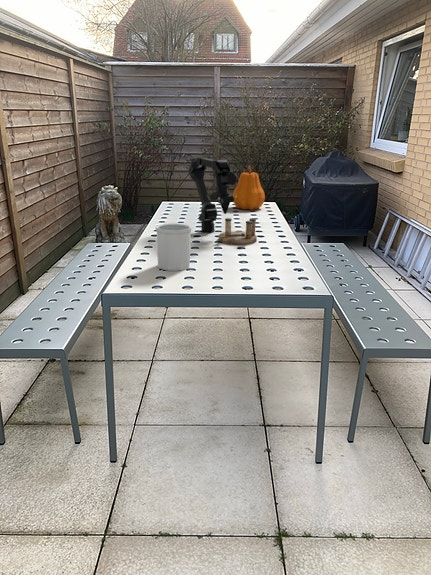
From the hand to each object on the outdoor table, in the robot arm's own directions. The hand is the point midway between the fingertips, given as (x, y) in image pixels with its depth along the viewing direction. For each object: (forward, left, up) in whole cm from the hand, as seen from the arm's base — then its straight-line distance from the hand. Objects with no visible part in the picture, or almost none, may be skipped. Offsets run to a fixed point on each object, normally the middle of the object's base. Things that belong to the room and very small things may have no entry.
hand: (225, 213), depth 250 cm
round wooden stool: (+10, -5, -12) cm, 16 cm away
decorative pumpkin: (-19, +87, -13) cm, 90 cm away
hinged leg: (+8, -6, -10) cm, 14 cm away
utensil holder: (+2, -61, -13) cm, 62 cm away
